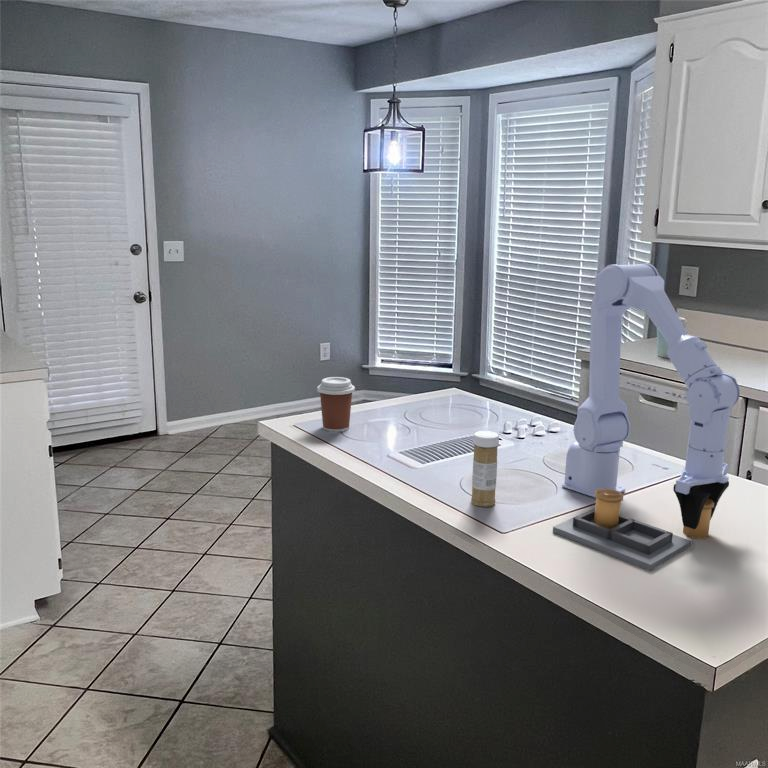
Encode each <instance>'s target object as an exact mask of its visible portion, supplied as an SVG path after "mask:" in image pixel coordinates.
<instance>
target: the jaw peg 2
mask: <svg viewBox="0 0 768 768" xmlns="http://www.w3.org/2000/svg"><path fill="white" fill-rule="evenodd" d="M713 507H714V501H713V500H711V499H709V498H708V499H707V501H706V502H705V504H704V506H703V509H702V512H701V516H700V520H699V524H698V526H697V528H696V529H692V528H689V527H686V526H683V527H682V533H683V534H684V535H685V536H687V537H688V538H693V539H707V538H708V537H709V533H710V525H711V520H710V518H711V510H712V508H713ZM711 519H712V518H711Z"/></svg>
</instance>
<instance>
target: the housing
mask: <svg viewBox="0 0 768 768" xmlns="http://www.w3.org/2000/svg"><path fill="white" fill-rule="evenodd" d="M594 514H595V507H594V508H592V509H590V510H587V511H585V512H583V513H580V514H579V515H576V516H573V517H571V518H570V519H567V520H564V521H563V522H560V523H557V524H556V525H553V527H552V533H554V534H556V535H560V536H562V537H565V538H567V539H569V540H570V541H571V540H572V541H574V542H577V543H578V544H582V545H583V546H584V545H585V546H587V547H589V548H590V549H591V548H592V549H595V550H597V551H599V552H601V553H604V554H606V555H610V556H612V557H613V558H616V559H619V560H622V561H625V562H627V563H629V564H632V565H635V566H637V567H640V568H642V569H644V570H647V571H650V572H651V571H652V570H654V569H656V568H657V567H659V566H660V565H664V563H666V562H668V561H669V560H671V559H672V558H674V557H676V556H678V555H679V554H681V553H684V551H686V550H688V549H690V548H691V547H692V543H693V541H692V540H690V539H688V538H685V537H681V536H679V535H676V534H674V533H673V532H672V531H667V530H665V529H663V528H660V527H656V526H653V525H650V524H648V523H645V522H643V521H640V520H636V519H634V518H631V517H629V516H625V515H622V514H619V522H618V526H616V527H614V528H612V529H608V528H606V527H603V526H600V525H598V524H595V523H594Z"/></svg>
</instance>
